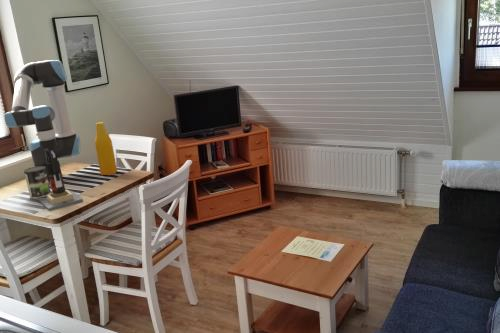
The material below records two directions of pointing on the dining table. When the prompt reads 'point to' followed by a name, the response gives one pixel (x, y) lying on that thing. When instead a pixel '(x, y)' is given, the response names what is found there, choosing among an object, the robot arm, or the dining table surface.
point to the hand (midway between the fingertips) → (57, 185)
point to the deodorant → (52, 181)
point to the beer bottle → (104, 151)
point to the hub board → (60, 200)
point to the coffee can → (37, 182)
